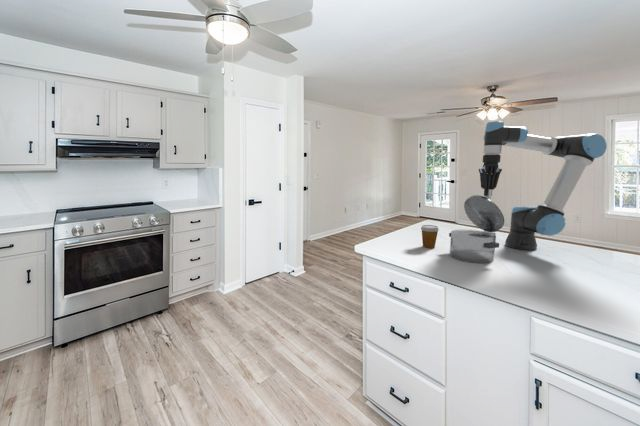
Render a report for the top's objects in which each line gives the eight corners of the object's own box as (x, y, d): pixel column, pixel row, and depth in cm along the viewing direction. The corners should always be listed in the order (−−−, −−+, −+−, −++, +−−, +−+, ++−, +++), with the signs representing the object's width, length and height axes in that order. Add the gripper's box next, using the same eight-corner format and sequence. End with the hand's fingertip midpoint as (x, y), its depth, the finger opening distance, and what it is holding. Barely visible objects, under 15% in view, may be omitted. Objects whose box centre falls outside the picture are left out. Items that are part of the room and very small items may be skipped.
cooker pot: (468, 248, 168) (470, 227, 166) (510, 261, 144) (513, 237, 142) (437, 252, 160) (439, 230, 158) (476, 267, 137) (478, 241, 135)
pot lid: (471, 227, 163) (477, 223, 164) (506, 236, 144) (512, 231, 145) (459, 195, 157) (465, 190, 158) (494, 199, 137) (500, 194, 138)
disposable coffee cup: (435, 245, 174) (436, 224, 172) (439, 249, 165) (441, 228, 163) (418, 244, 175) (419, 224, 173) (422, 249, 166) (423, 228, 164)
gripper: (495, 154, 152) (490, 201, 156) (475, 154, 148) (471, 201, 152) (508, 154, 145) (503, 202, 149) (488, 153, 141) (483, 203, 145)
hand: (487, 202), depth 150 cm, fingers closed
